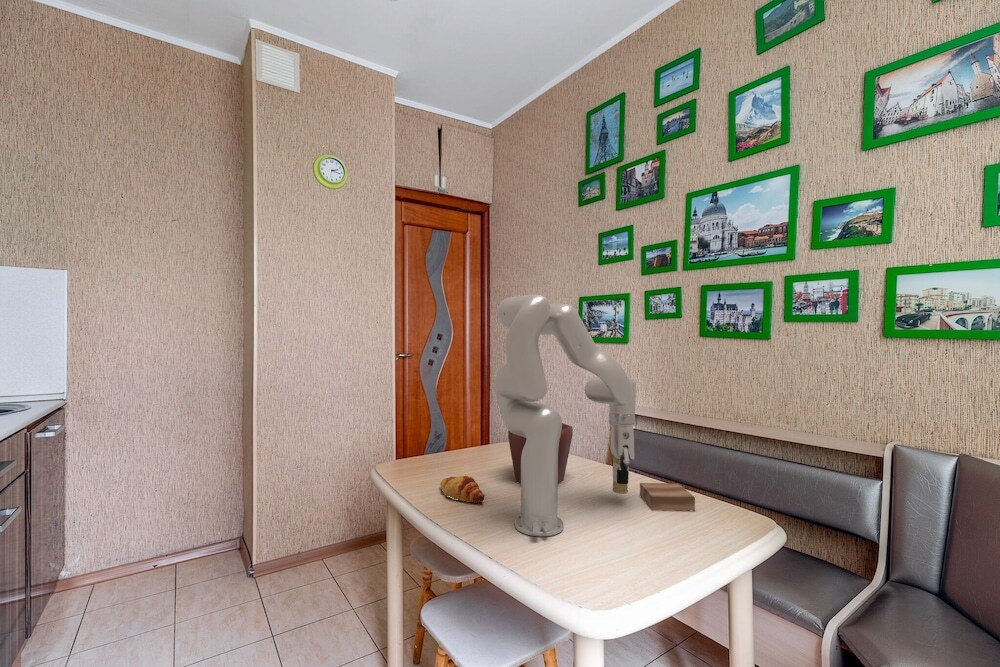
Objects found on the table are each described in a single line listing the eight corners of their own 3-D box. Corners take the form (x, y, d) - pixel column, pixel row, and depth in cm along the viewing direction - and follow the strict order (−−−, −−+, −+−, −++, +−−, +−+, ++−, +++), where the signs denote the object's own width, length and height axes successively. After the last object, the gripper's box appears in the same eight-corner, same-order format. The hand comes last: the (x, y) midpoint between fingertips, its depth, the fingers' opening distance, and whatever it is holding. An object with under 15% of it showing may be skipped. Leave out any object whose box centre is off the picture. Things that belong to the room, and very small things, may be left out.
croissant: (434, 500, 143) (424, 480, 141) (456, 479, 149) (447, 460, 147) (476, 518, 128) (466, 497, 125) (499, 495, 134) (489, 473, 131)
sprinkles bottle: (616, 488, 135) (618, 443, 136) (630, 492, 132) (631, 446, 133) (609, 491, 132) (610, 446, 132) (623, 495, 129) (624, 448, 129)
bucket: (508, 468, 167) (509, 401, 167) (568, 469, 166) (568, 402, 166) (507, 490, 142) (508, 412, 143) (576, 492, 141) (577, 413, 142)
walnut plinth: (694, 511, 126) (694, 497, 126) (652, 510, 126) (652, 496, 127) (678, 496, 138) (678, 483, 138) (639, 495, 138) (639, 483, 138)
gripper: (643, 424, 124) (641, 490, 124) (627, 415, 141) (625, 473, 141) (616, 423, 124) (614, 489, 124) (603, 414, 141) (601, 472, 141)
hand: (620, 480), depth 132 cm, fingers closed on sprinkles bottle, 4 cm apart
